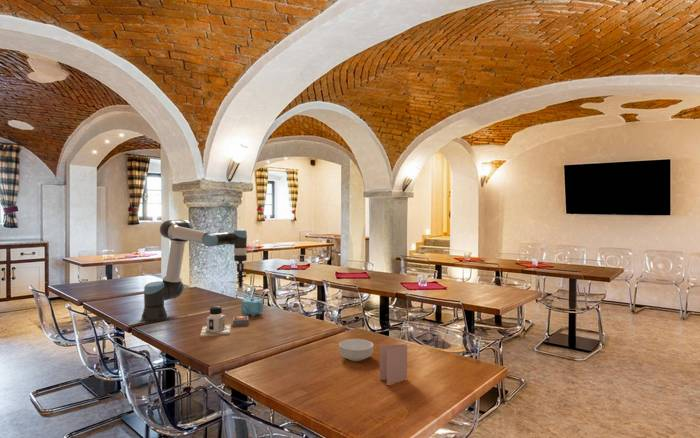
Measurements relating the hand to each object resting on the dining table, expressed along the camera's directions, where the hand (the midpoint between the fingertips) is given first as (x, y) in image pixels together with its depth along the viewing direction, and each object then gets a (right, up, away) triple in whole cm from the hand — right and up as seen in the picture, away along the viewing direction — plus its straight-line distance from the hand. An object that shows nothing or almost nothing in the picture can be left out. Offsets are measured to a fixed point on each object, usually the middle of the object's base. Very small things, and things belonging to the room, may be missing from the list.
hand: (240, 292), depth 263 cm
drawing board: (-10, -20, -15) cm, 27 cm away
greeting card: (+86, -23, -87) cm, 125 cm away
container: (-10, -19, -15) cm, 27 cm away
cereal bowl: (+71, -22, -59) cm, 95 cm away
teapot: (+3, -19, +23) cm, 30 cm away
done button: (0, -18, +1) cm, 18 cm away
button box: (0, -20, +1) cm, 20 cm away
